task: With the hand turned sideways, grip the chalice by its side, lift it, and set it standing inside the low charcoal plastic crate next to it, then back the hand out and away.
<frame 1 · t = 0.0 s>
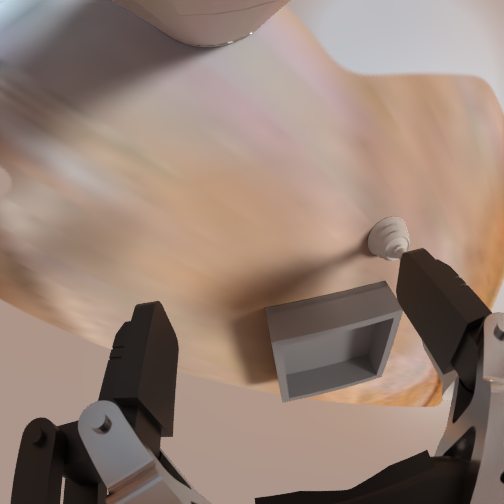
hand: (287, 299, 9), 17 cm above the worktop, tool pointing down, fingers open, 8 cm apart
crate: (326, 334, 38), on the worktop
chalice: (387, 236, 30), on the worktop
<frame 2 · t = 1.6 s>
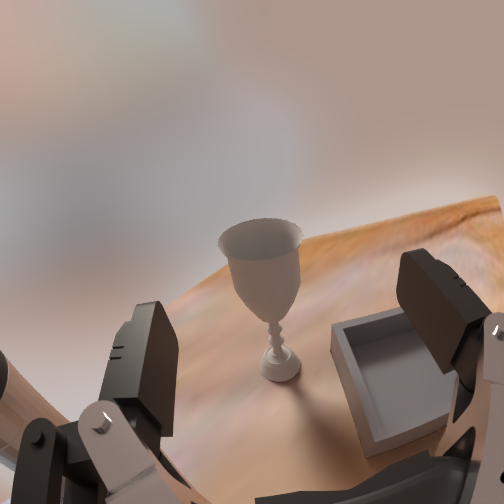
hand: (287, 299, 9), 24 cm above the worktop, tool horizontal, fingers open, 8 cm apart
crate: (406, 381, 29), on the worktop
chalice: (280, 365, 35), on the worktop
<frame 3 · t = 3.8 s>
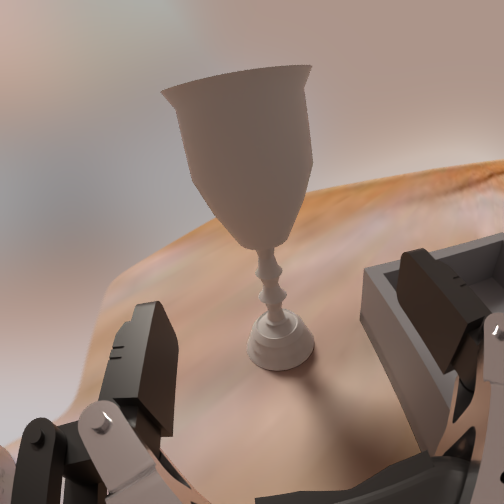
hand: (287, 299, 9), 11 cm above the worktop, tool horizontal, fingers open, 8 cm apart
crate: (480, 358, 16), on the worktop
chalice: (280, 345, 22), on the worktop
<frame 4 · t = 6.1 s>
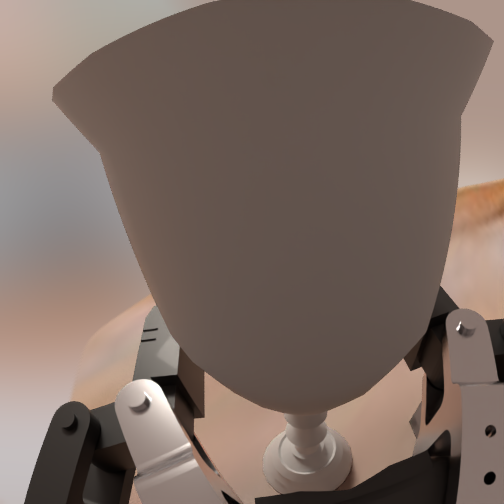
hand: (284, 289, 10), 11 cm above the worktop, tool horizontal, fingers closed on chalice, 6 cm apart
chalice: (307, 461, 14), on the worktop, touching gripper
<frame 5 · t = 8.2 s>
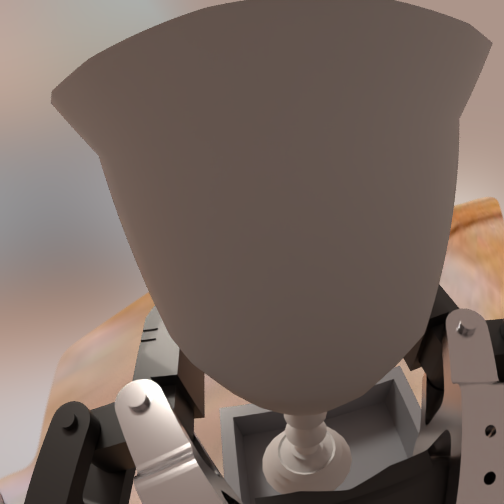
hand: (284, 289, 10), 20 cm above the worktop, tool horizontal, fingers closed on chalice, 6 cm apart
crate: (332, 488, 18), on the worktop
chalice: (307, 461, 14), point 8 cm above the worktop, touching gripper
when the fingers open (13 cm above the worktop, at t = 10.5 s): chalice drops 1 cm, resting on crate.
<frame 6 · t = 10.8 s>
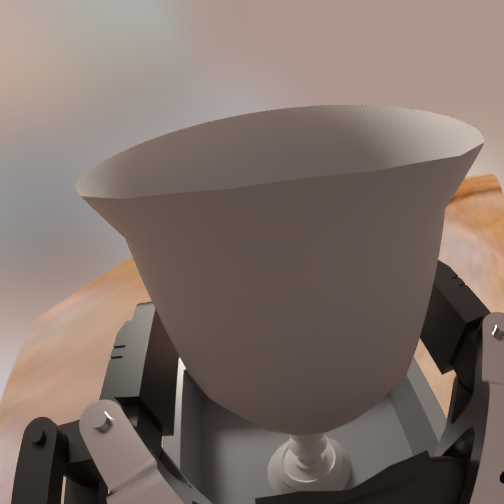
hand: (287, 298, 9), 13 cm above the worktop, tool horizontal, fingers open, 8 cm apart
crate: (307, 471, 15), on the worktop
chalice: (309, 470, 14), point 1 cm above the worktop, touching crate
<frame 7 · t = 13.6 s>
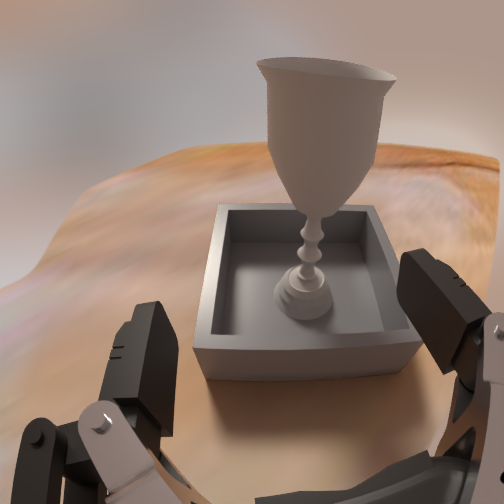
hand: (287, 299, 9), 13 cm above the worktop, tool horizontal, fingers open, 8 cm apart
crate: (301, 300, 26), on the worktop
chalice: (303, 296, 25), point 1 cm above the worktop, touching crate
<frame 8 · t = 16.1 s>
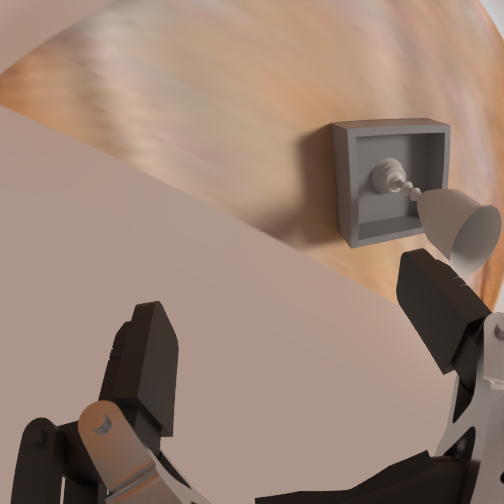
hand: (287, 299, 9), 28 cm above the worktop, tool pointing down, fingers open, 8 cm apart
crate: (385, 173, 37), on the worktop
chalice: (387, 175, 36), point 1 cm above the worktop, touching crate
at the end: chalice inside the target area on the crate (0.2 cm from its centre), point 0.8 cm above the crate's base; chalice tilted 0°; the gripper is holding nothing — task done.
